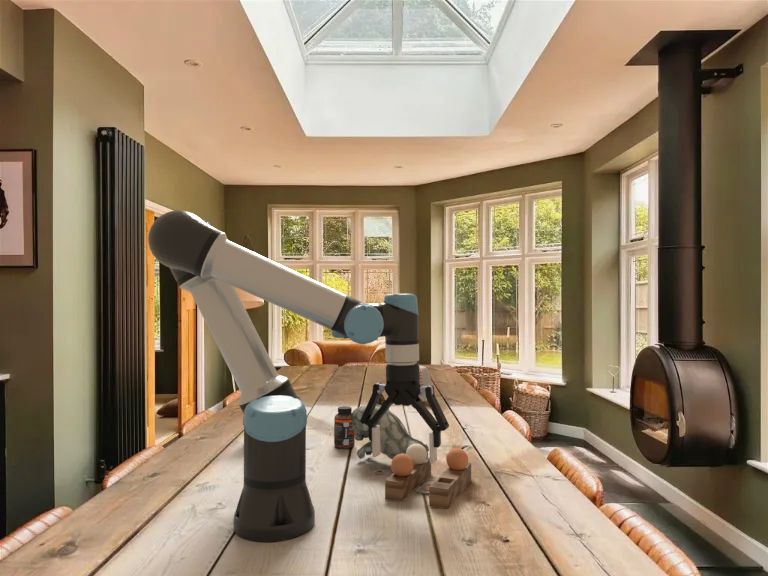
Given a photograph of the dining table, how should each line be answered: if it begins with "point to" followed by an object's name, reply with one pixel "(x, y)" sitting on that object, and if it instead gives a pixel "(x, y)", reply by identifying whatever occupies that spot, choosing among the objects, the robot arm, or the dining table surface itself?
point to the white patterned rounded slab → (424, 380)
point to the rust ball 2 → (457, 459)
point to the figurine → (383, 434)
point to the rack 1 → (407, 482)
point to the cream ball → (417, 453)
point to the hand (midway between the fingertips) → (404, 458)
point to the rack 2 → (448, 487)
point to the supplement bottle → (343, 428)
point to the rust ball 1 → (402, 465)
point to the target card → (424, 488)
